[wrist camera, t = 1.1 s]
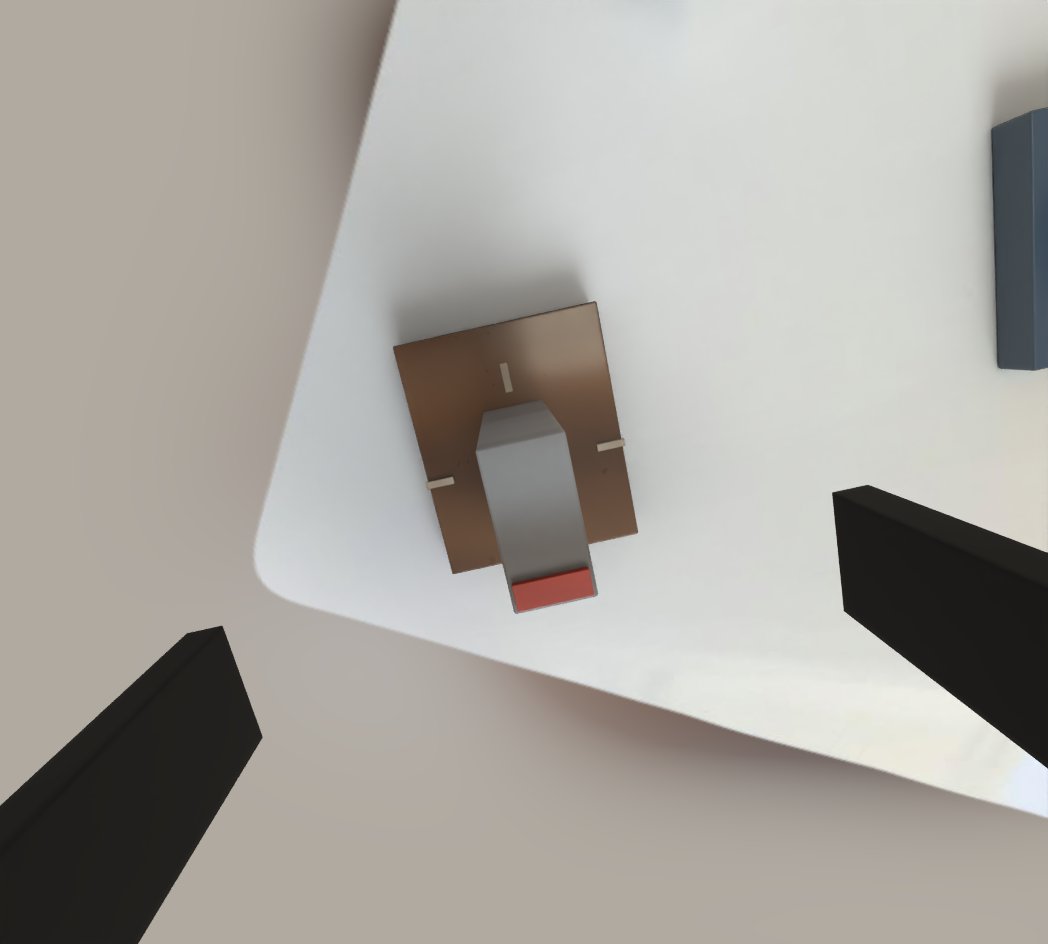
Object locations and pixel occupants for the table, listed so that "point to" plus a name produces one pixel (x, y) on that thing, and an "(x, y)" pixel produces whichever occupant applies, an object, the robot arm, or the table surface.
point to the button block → (1022, 240)
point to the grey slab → (534, 507)
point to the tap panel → (506, 380)
